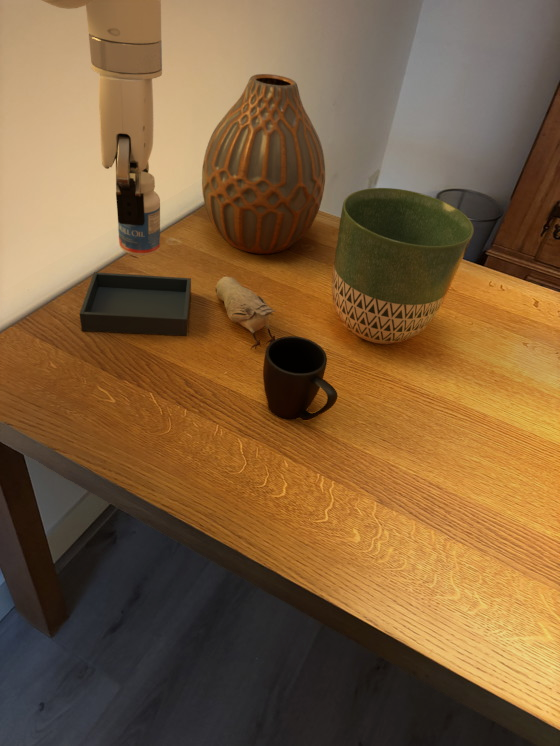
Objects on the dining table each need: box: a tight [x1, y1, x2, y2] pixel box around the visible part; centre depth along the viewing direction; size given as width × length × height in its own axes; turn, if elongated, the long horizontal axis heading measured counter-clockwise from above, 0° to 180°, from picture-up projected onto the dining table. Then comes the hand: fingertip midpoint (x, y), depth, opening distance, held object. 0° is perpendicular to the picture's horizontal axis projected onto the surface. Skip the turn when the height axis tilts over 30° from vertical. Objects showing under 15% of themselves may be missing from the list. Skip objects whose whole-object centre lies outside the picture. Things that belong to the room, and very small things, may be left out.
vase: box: [201, 73, 326, 255], centre depth 105 cm, size 24×24×30 cm
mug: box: [262, 335, 338, 422], centre depth 73 cm, size 8×12×10 cm
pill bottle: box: [117, 171, 161, 256], centre depth 71 cm, size 6×5×10 cm
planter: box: [331, 187, 475, 345], centre depth 87 cm, size 20×20×21 cm
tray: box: [79, 271, 192, 337], centre depth 89 cm, size 16×12×3 cm
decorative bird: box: [215, 275, 276, 350], centre depth 89 cm, size 5×16×8 cm, turn 33°
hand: (135, 211), depth 71 cm, fingers closed on pill bottle, 5 cm apart
